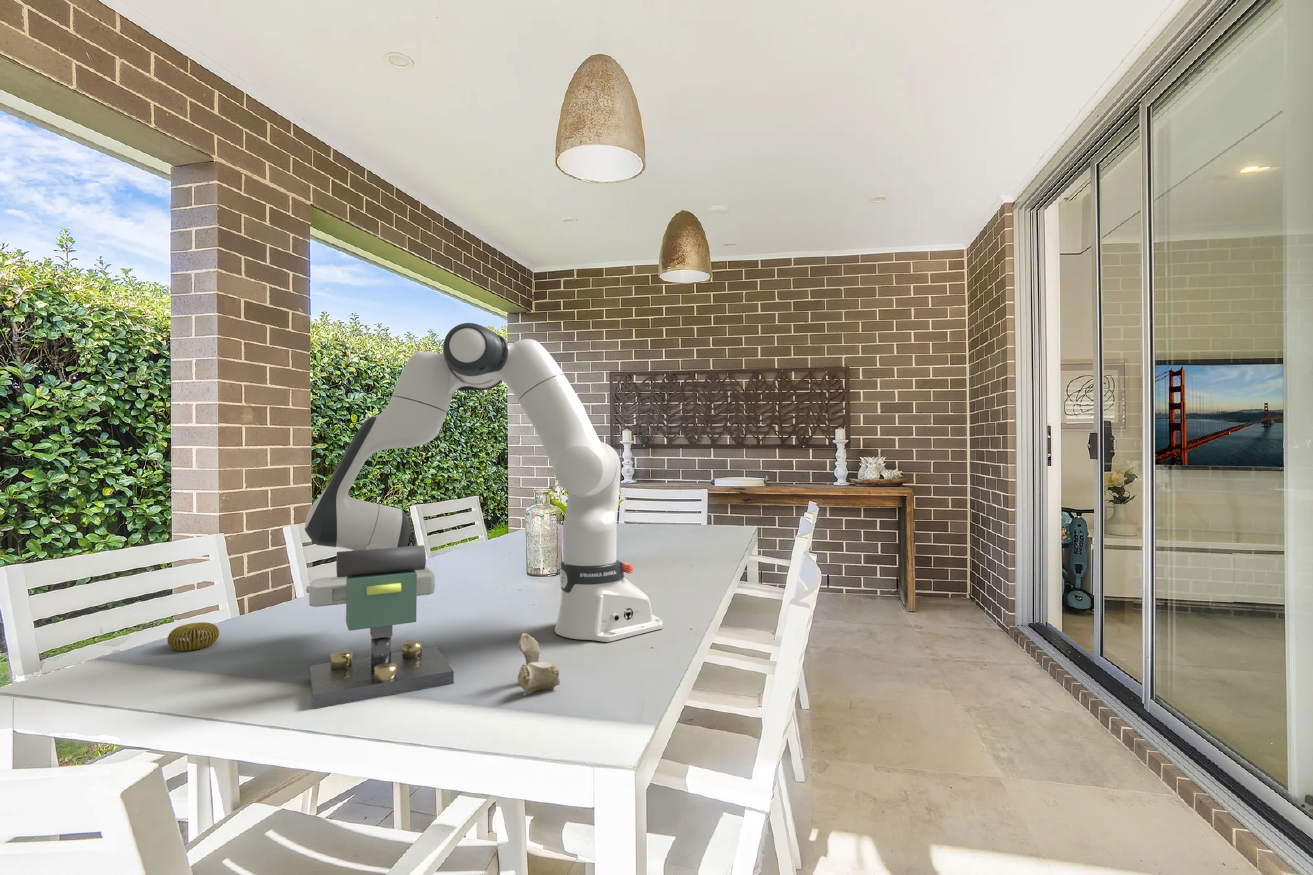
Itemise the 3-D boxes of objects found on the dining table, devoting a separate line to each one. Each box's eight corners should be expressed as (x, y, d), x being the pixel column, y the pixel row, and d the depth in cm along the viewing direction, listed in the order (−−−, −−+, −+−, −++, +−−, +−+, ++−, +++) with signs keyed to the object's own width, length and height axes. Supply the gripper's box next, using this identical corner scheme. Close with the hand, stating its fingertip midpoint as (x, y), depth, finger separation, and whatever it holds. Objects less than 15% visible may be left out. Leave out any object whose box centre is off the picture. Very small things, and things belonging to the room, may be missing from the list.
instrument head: (420, 624, 110) (420, 543, 110) (426, 634, 105) (427, 548, 105) (335, 635, 104) (336, 549, 104) (338, 647, 98) (338, 555, 98)
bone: (558, 691, 96) (526, 632, 98) (522, 712, 97) (490, 653, 98) (572, 674, 105) (542, 620, 106) (538, 694, 105) (509, 640, 106)
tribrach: (435, 657, 116) (436, 618, 116) (453, 683, 104) (453, 639, 104) (309, 677, 106) (310, 635, 106) (313, 708, 94) (313, 660, 94)
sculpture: (177, 621, 125) (225, 618, 127) (177, 642, 125) (225, 638, 127) (159, 633, 117) (210, 629, 119) (159, 655, 117) (210, 651, 119)
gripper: (305, 568, 114) (308, 583, 102) (426, 558, 124) (441, 571, 112) (305, 604, 114) (307, 623, 102) (426, 591, 124) (441, 607, 112)
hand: (378, 596), depth 107 cm, fingers closed
